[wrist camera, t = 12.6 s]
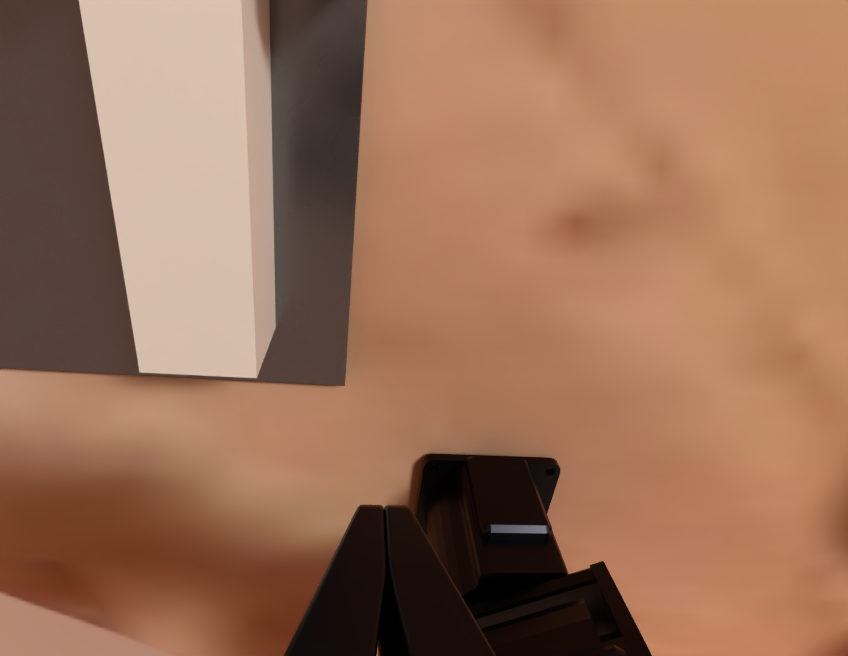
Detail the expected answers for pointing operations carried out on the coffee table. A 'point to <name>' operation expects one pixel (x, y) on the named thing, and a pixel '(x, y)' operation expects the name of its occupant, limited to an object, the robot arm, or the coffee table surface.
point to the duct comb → (93, 213)
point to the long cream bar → (189, 176)
